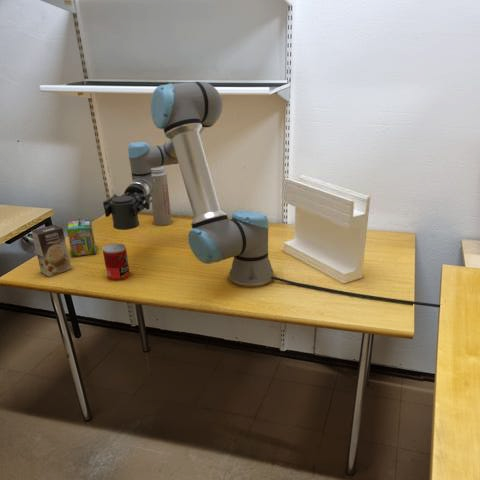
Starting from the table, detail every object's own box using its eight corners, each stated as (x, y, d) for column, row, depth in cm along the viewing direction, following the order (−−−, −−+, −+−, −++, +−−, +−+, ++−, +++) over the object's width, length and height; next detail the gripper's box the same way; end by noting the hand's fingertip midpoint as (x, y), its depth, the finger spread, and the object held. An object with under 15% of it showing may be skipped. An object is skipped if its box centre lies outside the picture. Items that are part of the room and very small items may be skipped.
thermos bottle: (175, 221, 221) (168, 158, 207) (164, 226, 215) (156, 162, 201) (161, 219, 224) (154, 157, 210) (150, 224, 219) (142, 161, 205)
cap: (144, 225, 162) (140, 198, 158) (121, 231, 157) (117, 204, 153) (131, 219, 168) (127, 193, 163) (108, 225, 163) (104, 198, 158)
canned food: (125, 281, 167) (120, 252, 161) (103, 280, 168) (98, 250, 163) (133, 272, 173) (129, 243, 168) (113, 271, 175) (108, 242, 169)
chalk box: (72, 248, 195) (65, 213, 187) (96, 246, 197) (89, 211, 189) (71, 257, 187) (63, 220, 180) (96, 254, 189) (88, 218, 182)
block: (361, 277, 164) (370, 196, 149) (343, 283, 160) (350, 201, 146) (299, 246, 190) (302, 174, 176) (283, 250, 186) (284, 178, 172)
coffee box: (48, 277, 172) (37, 234, 164) (40, 272, 176) (29, 230, 168) (72, 269, 177) (62, 227, 169) (64, 264, 181) (54, 223, 173)
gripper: (166, 202, 176) (153, 223, 157) (110, 203, 178) (90, 224, 158) (164, 182, 173) (150, 200, 153) (106, 183, 174) (85, 201, 154)
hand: (119, 212), depth 156 cm, fingers closed on cap, 8 cm apart
